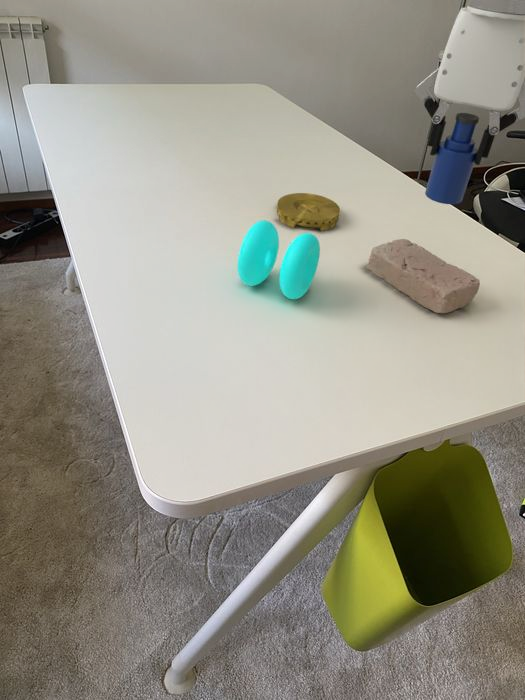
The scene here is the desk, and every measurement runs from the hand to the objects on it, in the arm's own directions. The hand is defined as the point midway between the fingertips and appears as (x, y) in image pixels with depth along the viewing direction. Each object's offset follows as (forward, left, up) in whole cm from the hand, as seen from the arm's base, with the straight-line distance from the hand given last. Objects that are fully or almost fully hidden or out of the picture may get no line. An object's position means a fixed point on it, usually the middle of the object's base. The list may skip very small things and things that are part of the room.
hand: (455, 155), depth 74 cm
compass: (+24, -17, -22) cm, 37 cm away
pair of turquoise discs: (+20, +10, -22) cm, 31 cm away
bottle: (0, 0, -6) cm, 6 cm away
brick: (0, -2, -22) cm, 22 cm away
